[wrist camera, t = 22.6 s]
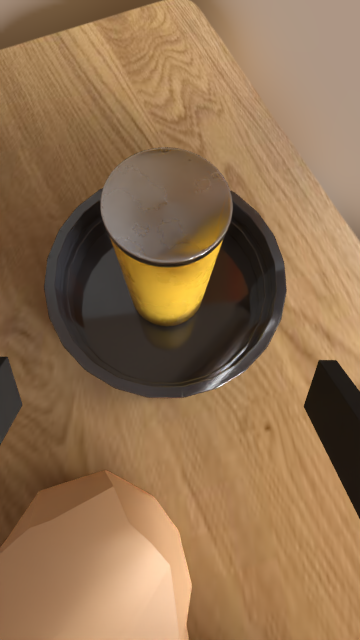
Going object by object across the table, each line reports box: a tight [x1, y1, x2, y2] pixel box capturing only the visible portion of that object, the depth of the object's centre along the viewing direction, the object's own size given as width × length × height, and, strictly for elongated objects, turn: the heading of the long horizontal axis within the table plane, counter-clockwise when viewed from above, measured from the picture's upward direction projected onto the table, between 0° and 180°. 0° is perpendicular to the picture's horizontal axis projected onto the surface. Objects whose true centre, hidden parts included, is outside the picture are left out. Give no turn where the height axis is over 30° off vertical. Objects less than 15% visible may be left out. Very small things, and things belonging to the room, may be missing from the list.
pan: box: [44, 188, 286, 398], centre depth 26 cm, size 19×19×4 cm
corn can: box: [101, 147, 233, 326], centre depth 21 cm, size 6×6×13 cm
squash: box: [0, 470, 192, 640], centre depth 19 cm, size 11×20×9 cm, turn 34°
